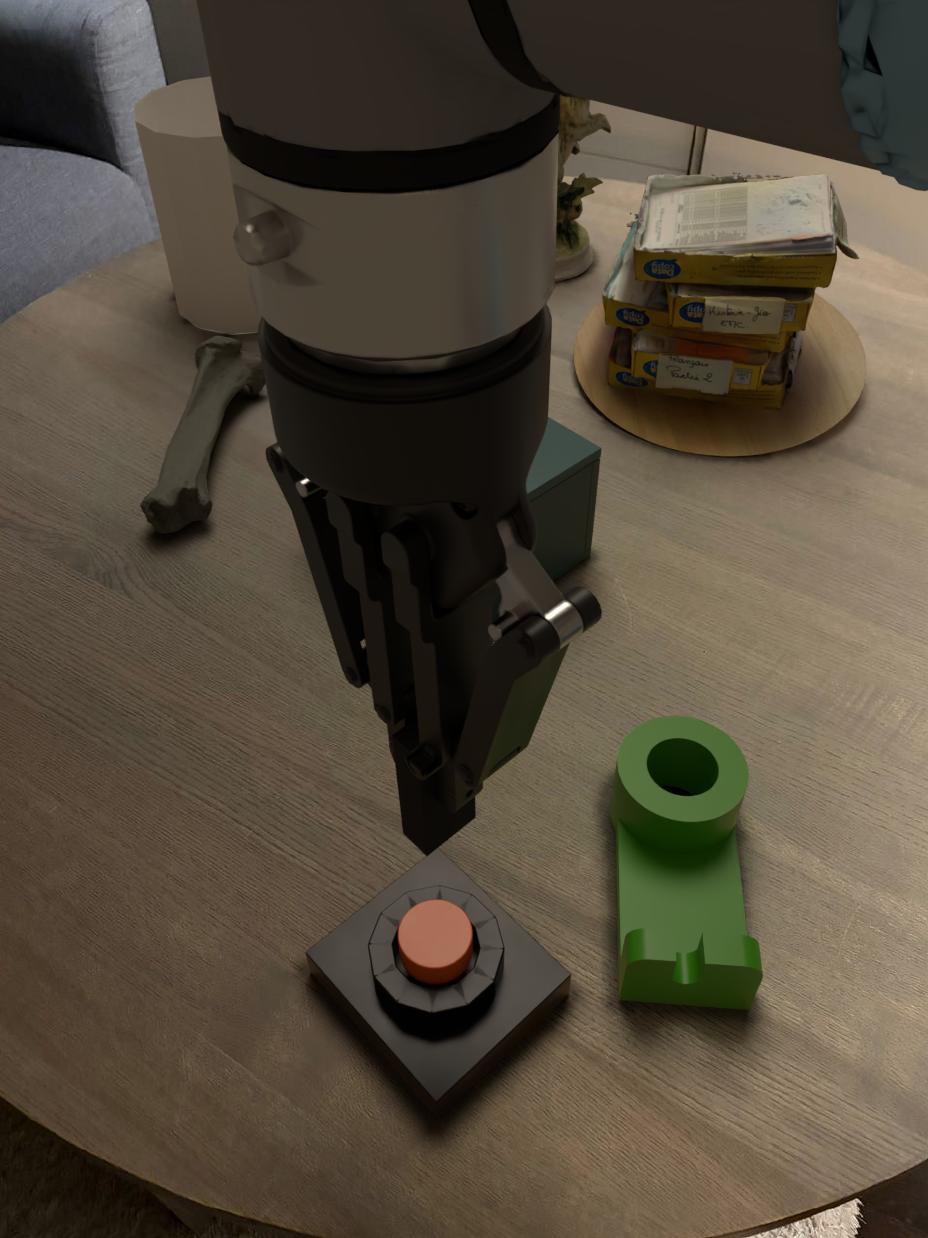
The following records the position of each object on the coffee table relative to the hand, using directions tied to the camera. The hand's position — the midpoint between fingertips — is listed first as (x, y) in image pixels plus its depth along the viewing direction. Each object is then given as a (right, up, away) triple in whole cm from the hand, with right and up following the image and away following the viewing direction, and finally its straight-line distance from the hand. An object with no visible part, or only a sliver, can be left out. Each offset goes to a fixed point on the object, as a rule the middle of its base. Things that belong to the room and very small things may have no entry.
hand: (439, 825), depth 43 cm
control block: (0, -10, +11) cm, 15 cm away
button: (0, -8, +8) cm, 11 cm away
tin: (0, +14, +34) cm, 37 cm away
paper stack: (+23, +30, +50) cm, 63 cm away
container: (-20, +40, +60) cm, 75 cm away
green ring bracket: (+13, -6, +15) cm, 21 cm away
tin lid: (0, +21, +28) cm, 35 cm away
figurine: (+9, +46, +65) cm, 80 cm away
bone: (-19, +22, +43) cm, 52 cm away
